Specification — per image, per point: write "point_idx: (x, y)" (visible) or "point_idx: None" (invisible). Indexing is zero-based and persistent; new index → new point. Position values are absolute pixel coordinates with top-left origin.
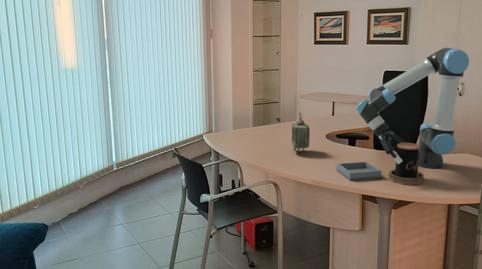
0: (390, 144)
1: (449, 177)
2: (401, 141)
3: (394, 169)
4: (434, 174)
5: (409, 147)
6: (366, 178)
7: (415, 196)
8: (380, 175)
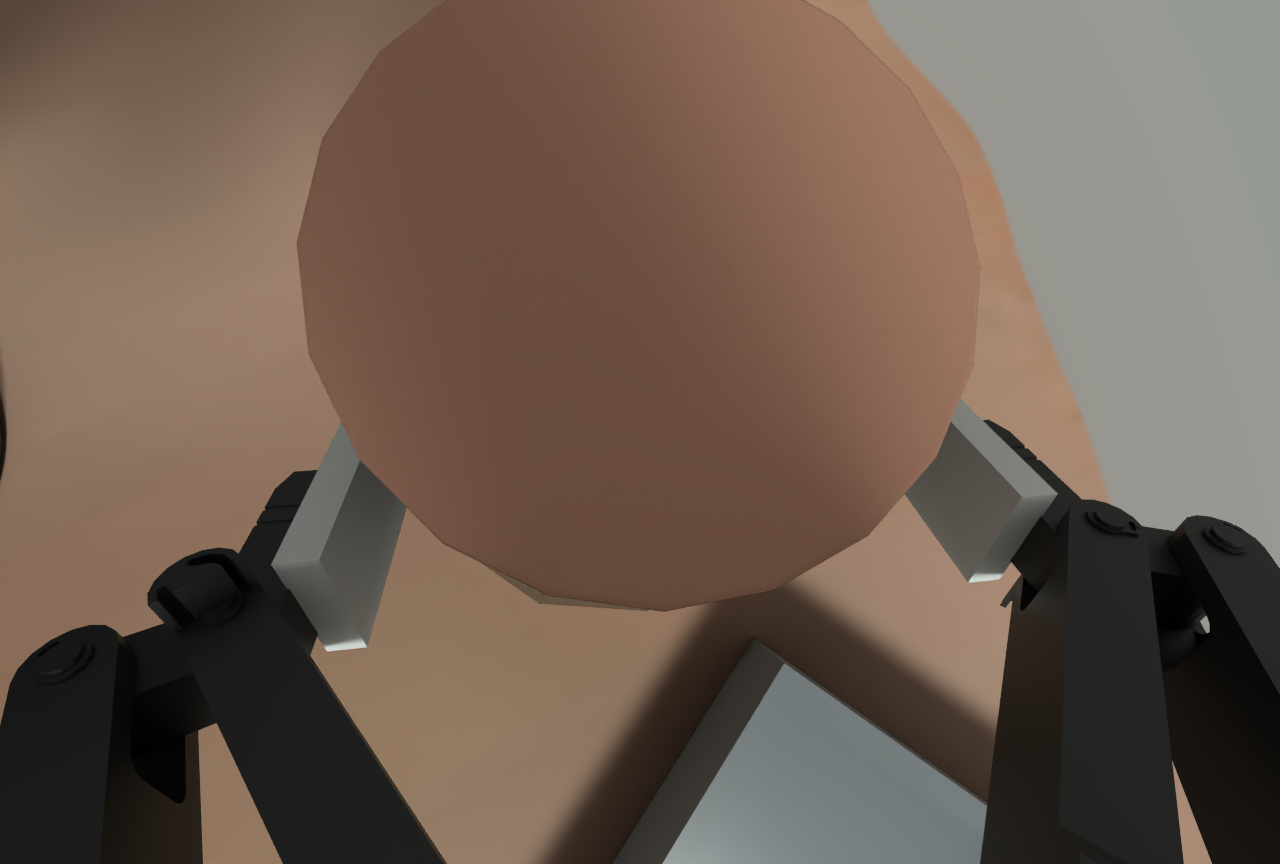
0: (1112, 686)
1: (234, 102)
2: (127, 744)
3: (544, 594)
4: (226, 254)
5: (890, 126)
6: (892, 735)
7: (976, 168)
8: (766, 647)
